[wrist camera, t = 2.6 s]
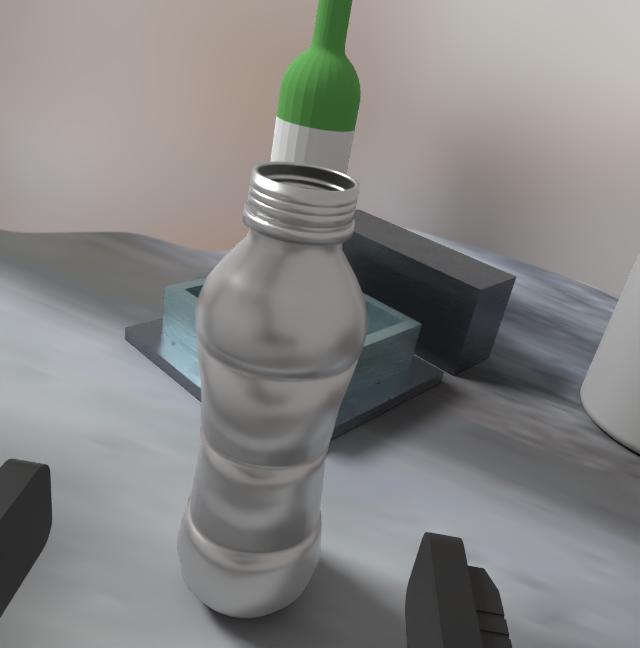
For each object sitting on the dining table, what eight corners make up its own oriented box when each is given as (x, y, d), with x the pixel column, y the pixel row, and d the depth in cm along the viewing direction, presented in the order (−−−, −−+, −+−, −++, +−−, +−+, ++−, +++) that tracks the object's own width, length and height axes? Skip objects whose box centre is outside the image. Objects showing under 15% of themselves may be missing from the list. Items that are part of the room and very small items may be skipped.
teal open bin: (279, 467, 38) (299, 355, 34) (125, 338, 48) (127, 242, 44) (488, 357, 56) (516, 276, 52) (344, 281, 66) (358, 209, 62)
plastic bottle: (327, 627, 28) (436, 214, 19) (178, 650, 26) (221, 198, 17) (294, 522, 34) (367, 160, 25) (168, 534, 32) (196, 142, 22)
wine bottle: (322, 289, 63) (385, -47, 49) (248, 273, 63) (291, -64, 50) (332, 263, 70) (389, -37, 56) (265, 249, 70) (307, -52, 57)
